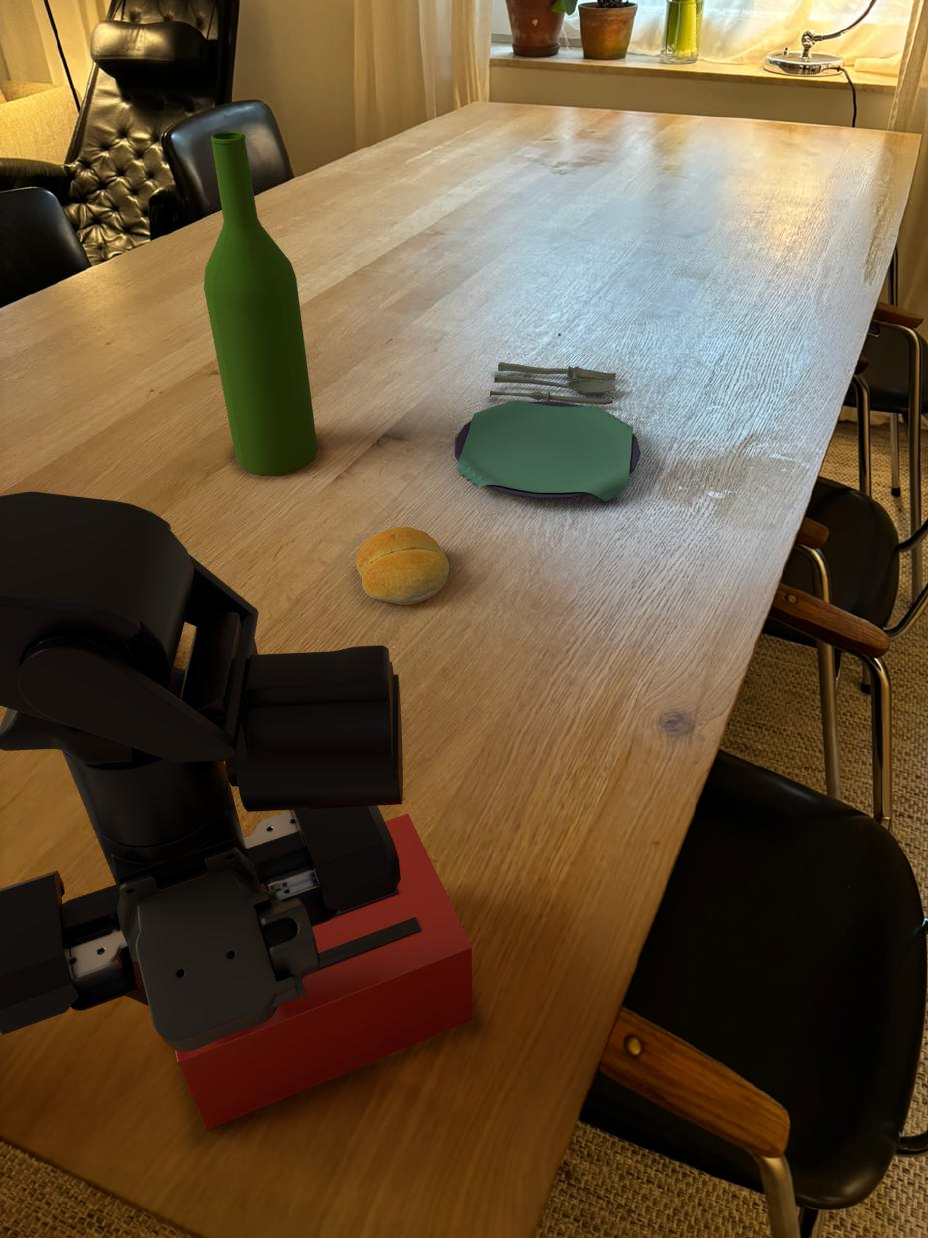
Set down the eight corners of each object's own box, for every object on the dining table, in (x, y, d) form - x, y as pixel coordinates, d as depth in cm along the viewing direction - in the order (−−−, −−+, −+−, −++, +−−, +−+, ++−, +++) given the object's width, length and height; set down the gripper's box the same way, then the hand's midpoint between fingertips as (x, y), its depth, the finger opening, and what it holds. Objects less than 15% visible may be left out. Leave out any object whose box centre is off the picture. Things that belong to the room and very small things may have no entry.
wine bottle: (268, 427, 113) (219, 117, 92) (333, 445, 110) (298, 128, 89) (218, 463, 107) (154, 141, 86) (286, 484, 104) (236, 154, 83)
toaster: (206, 1131, 55) (176, 1061, 49) (172, 976, 62) (144, 901, 56) (473, 1020, 59) (472, 946, 54) (413, 888, 66) (407, 811, 61)
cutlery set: (438, 504, 101) (437, 485, 99) (483, 370, 123) (483, 353, 122) (635, 521, 98) (637, 502, 97) (645, 381, 121) (647, 363, 119)
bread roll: (370, 616, 88) (366, 581, 85) (352, 557, 94) (348, 523, 92) (460, 600, 89) (459, 564, 87) (436, 543, 96) (435, 509, 93)
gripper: (-84, 1054, 33) (50, 1225, 43) (439, 865, 38) (448, 1056, 48) (-85, 808, 41) (28, 1002, 51) (349, 680, 46) (373, 879, 56)
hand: (222, 986), depth 51 cm, fingers open, 5 cm apart
